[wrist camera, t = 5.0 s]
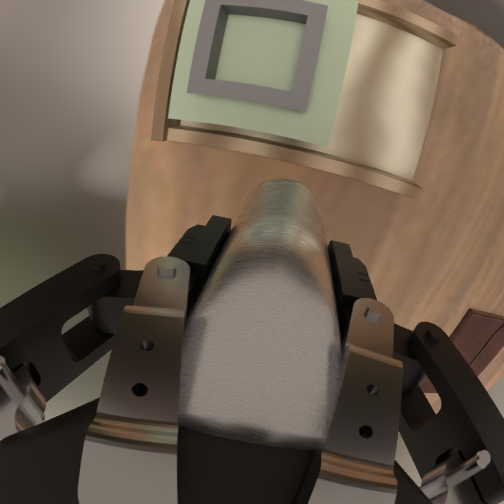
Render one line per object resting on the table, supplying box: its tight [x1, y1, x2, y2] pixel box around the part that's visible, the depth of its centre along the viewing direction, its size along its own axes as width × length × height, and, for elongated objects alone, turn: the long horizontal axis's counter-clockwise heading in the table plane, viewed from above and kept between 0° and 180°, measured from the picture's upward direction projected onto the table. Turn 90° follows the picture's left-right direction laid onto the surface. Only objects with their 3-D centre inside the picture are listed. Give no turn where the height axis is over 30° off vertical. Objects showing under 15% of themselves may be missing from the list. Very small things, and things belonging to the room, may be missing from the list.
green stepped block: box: [168, 0, 359, 147], centre depth 19 cm, size 13×13×8 cm
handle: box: [179, 179, 342, 451], centre depth 10 cm, size 4×4×12 cm
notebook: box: [419, 308, 504, 393], centre depth 37 cm, size 15×20×2 cm
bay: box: [151, 0, 457, 200], centre depth 21 cm, size 26×18×5 cm
